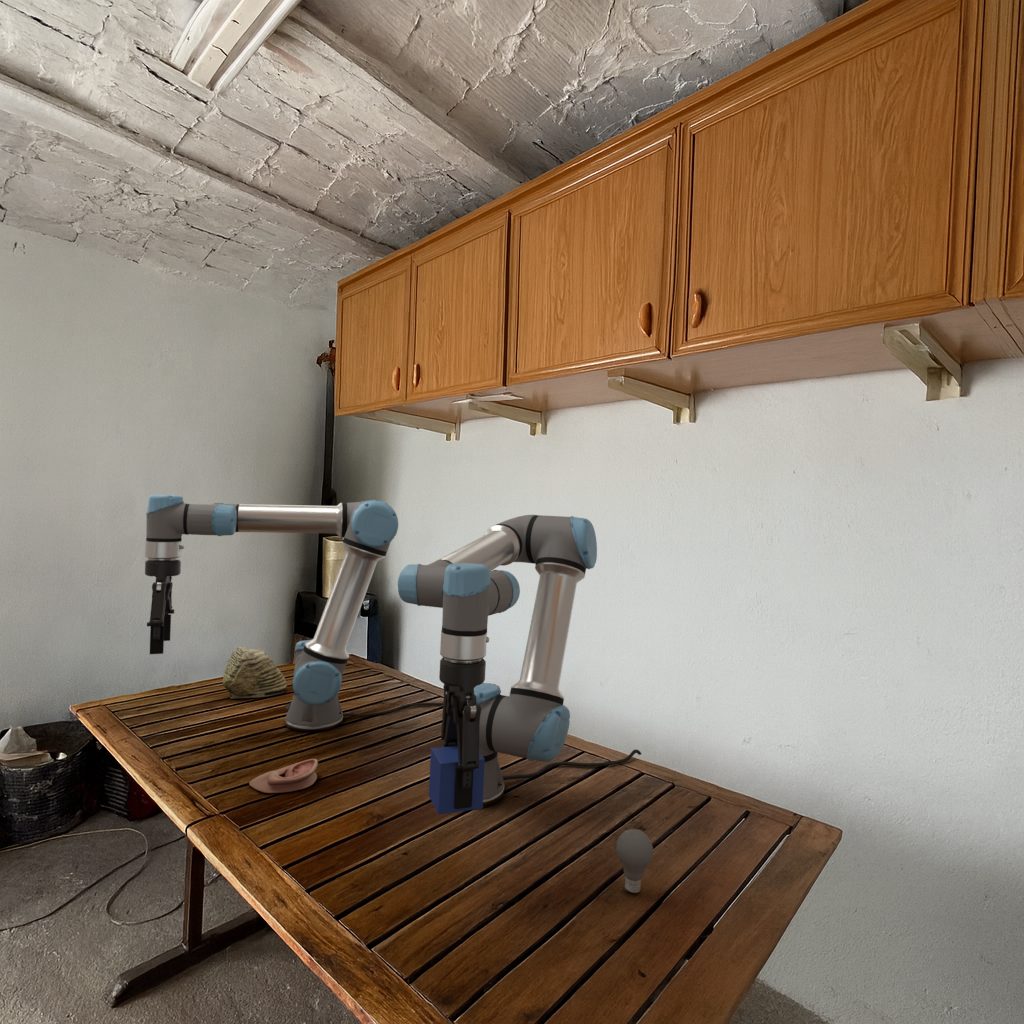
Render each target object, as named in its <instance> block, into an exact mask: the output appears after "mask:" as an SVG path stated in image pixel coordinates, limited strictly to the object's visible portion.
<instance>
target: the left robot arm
mask: <svg viewBox="0 0 1024 1024" xmlns="http://www.w3.org/2000/svg"><path fill="white" fill-rule="evenodd" d="M145 515H146V531H145V532H146V533H145V534H146V535H145V536H146V538H145V547H144V548H145V549H144V557H145V558H146V560H145V561H144V574H145V576H147V577H155V581H154V582H153V583H152V584H151V591H152V592H151V605H150V615H149V621H148V622H146V627H150V630H149V631H150V632H149V633H150V634H149V655H163V654H164V646H165V642H170V641H171V627H172V614H173V615H174V614H175V608H174V609H173V602H172V600H173V598H172V596H173V595H172V593H173V581H172V580H173V577H177V576H179V575H180V574H181V571H182V569H181V567H182V561H181V559H179V558H181V556H182V550H184V549H185V546H184V545H183V544H182V539H183V538H182V537H183V535H187V536H188V535H191V536H193V535H194V536H195V535H196V536H217V537H224V536H233V535H234V534H235V533H270V534H271V533H280V534H281V533H282V534H289V533H290V534H336V535H337V536H338V537H339V538H343V540H342V542H341V543H342V545H343V548H344V550H345V551H344V554H343V558H342V560H341V562H340V566H339V567H338V571H337V573H336V576H335V579H334V581H333V584H332V587H331V589H330V593H329V595H328V598H327V601H326V604H325V606H324V608H323V611H322V614H321V617H320V619H319V623H318V625H317V627H316V631H315V633H314V636H313V638H312V639H306V640H305V639H304V640H300V641H298V642H296V643H295V648H294V649H295V650H293V651H294V669H293V676H292V680H291V682H292V683H291V685H292V686H291V687H292V690H293V695H292V696H293V697H292V699H291V702H289V703H286V704H285V710H287V709H288V711H287V713H286V715H285V726H286V728H287V729H289V730H291V731H294V732H295V731H296V732H301V733H316V732H325V731H329V730H332V729H335V728H337V727H339V726H340V725H342V723H343V722H344V717H356V718H361V717H362V718H363V717H372V716H380V715H386V714H389V713H394V712H396V711H400V710H402V709H404V708H410V707H416V706H417V707H419V706H443V702H416V703H408V704H404V705H400V706H397V707H395V708H392V709H388V710H383V711H377V712H369V713H347V712H346V713H344V712H343V709H342V706H341V702H340V699H339V695H338V694H339V693H340V690H341V688H342V685H343V675H344V672H345V669H346V667H347V663H348V661H349V659H350V654H349V652H348V651H347V646H348V644H349V642H350V641H349V640H350V639H351V635H352V632H353V630H354V627H355V624H356V622H357V619H358V616H359V613H360V611H361V609H362V606H363V602H364V600H365V597H366V594H367V591H368V588H369V585H370V584H371V580H372V577H373V576H374V575H373V574H374V572H375V569H376V566H377V563H378V562H379V561H381V560H383V559H385V558H386V556H387V553H388V550H389V547H390V545H391V543H392V541H393V540H394V539H395V537H396V535H397V534H398V530H399V517H398V515H397V513H396V511H395V510H394V508H393V507H392V506H391V505H389V504H388V503H387V502H385V501H383V500H378V499H367V500H362V501H356V502H355V501H354V502H353V501H352V502H340V503H338V504H337V505H303V504H301V505H300V504H299V505H298V504H297V505H296V504H258V503H257V504H256V503H255V504H251V503H250V504H249V503H246V504H245V503H223V502H215V503H212V504H210V503H209V504H208V503H207V504H204V503H203V504H202V503H201V504H200V503H197V504H195V503H186V502H185V501H184V498H183V496H182V495H179V494H151V495H150V496H149V497H148V499H147V508H146V513H145Z"/></svg>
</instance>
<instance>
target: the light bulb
mask: <svg viewBox="0 0 1024 1024" xmlns="http://www.w3.org/2000/svg"><path fill="white" fill-rule="evenodd" d="M615 849H616V854H617V857H618V859H619V861H620V863H621V865H622V867H623V873H624V874H623V875H624V876H625V878H624V888H625V890H627V891H628V892H630V893H634V894H635V893H639V892H640V891H641V889H642V887H641V886H642V879H643V877H644V875H645V871H646V868H647V867H648V866H649V864H650V863H651V861H652V859H653V855H654V847H653V843H652V841H651V838H649V836H648V835H647V834H646V833H645V832H643V831H642V830H641V829H636V828H629V829H627V830H625V831H623V832H622V833H621V834H620V835H619V837H618V839H617V841H616V847H615Z"/></svg>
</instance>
